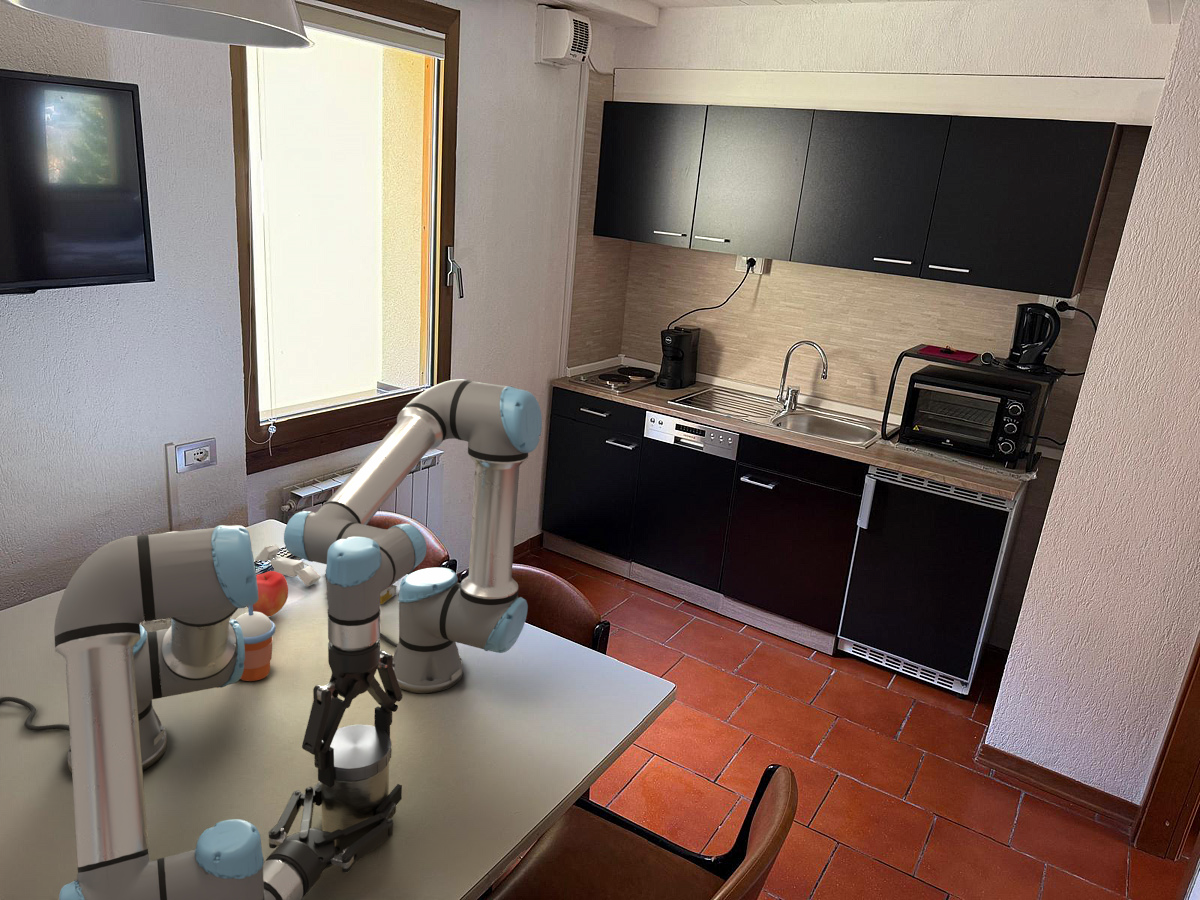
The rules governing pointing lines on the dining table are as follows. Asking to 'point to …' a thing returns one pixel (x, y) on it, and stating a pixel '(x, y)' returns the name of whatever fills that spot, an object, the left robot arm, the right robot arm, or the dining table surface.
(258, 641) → the cup with straw
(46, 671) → the dining table surface
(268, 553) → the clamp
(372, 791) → the jar
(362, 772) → the lid
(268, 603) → the apple
